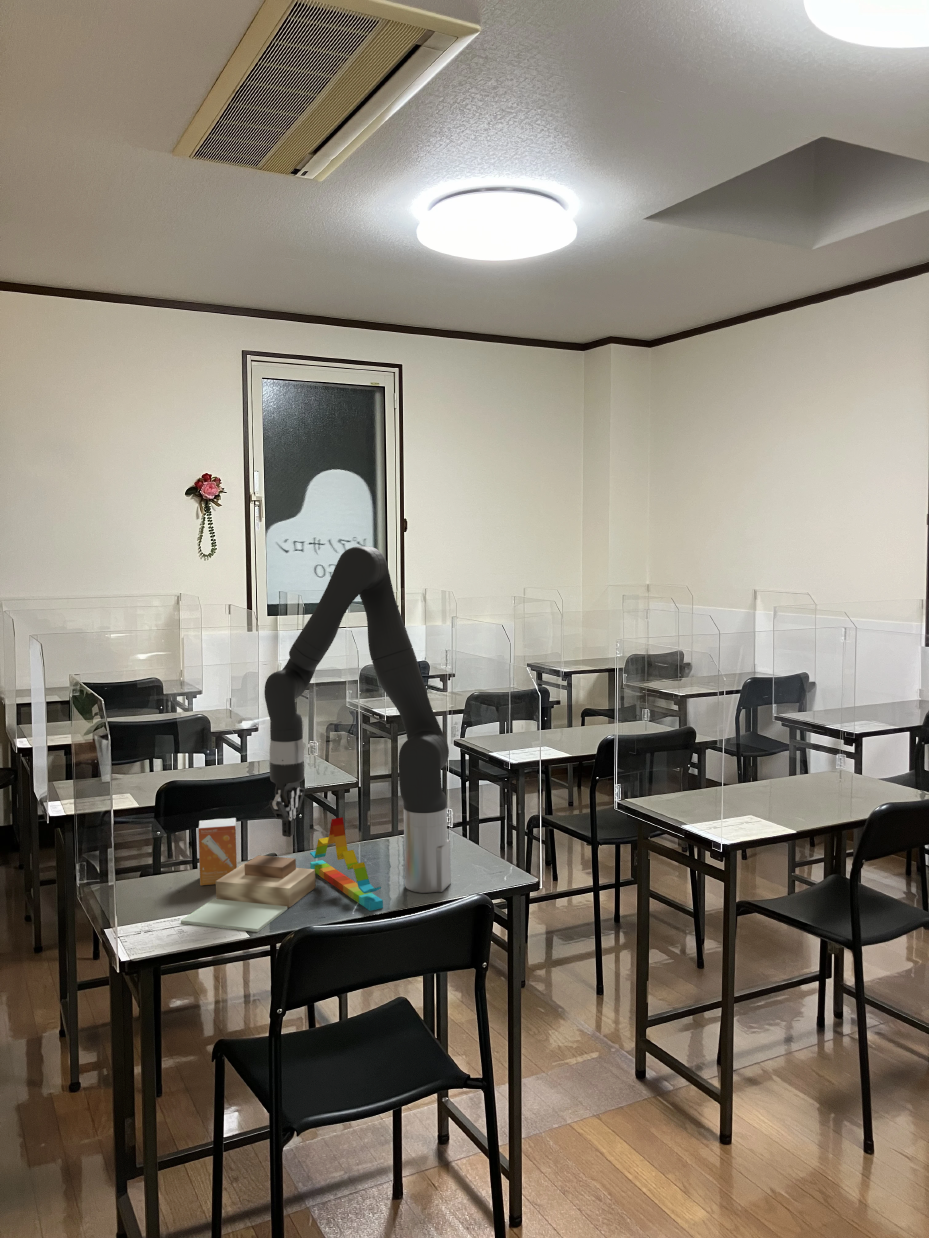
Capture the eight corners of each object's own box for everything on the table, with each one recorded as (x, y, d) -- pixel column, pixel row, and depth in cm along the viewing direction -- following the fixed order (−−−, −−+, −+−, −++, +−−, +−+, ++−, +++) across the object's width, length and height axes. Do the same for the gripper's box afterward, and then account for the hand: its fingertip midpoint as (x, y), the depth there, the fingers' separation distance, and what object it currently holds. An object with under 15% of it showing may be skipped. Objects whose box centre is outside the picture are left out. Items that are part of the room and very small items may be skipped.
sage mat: (287, 909, 200) (287, 906, 200) (257, 931, 189) (257, 928, 189) (213, 901, 206) (213, 898, 205) (180, 923, 194) (180, 920, 194)
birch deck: (315, 887, 213) (314, 869, 212) (289, 907, 201) (288, 888, 201) (245, 880, 218) (244, 862, 218) (216, 899, 206) (215, 881, 206)
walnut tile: (295, 869, 213) (295, 858, 213) (282, 878, 207) (282, 867, 207) (258, 865, 215) (258, 855, 215) (244, 874, 210) (244, 863, 210)
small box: (199, 886, 215) (197, 827, 214) (200, 876, 221) (198, 819, 220) (238, 882, 217) (235, 824, 216) (238, 873, 223) (235, 817, 222)
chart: (384, 908, 201) (382, 836, 199) (370, 912, 199) (368, 839, 198) (323, 868, 226) (321, 803, 225) (310, 870, 225) (308, 806, 224)
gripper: (288, 766, 211) (289, 846, 212) (315, 753, 223) (316, 828, 225) (256, 764, 213) (258, 842, 214) (285, 751, 225) (287, 825, 227)
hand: (288, 835), depth 219 cm, fingers closed
